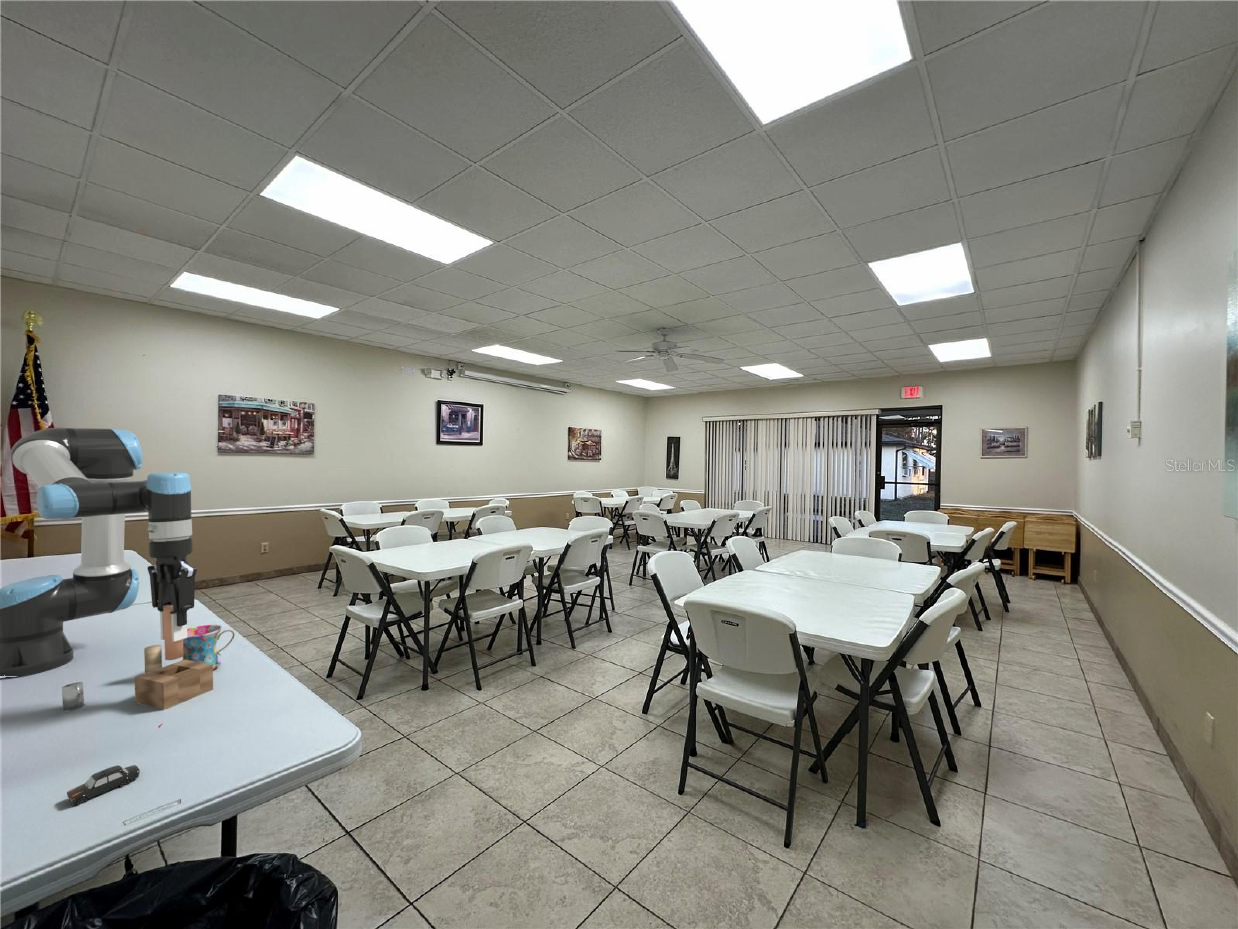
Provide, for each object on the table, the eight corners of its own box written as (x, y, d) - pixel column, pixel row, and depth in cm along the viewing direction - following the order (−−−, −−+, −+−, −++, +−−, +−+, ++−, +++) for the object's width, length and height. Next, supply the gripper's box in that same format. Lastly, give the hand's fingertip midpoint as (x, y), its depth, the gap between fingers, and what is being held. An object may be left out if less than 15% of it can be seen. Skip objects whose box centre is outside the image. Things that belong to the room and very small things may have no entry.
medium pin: (142, 680, 125) (141, 648, 125) (157, 675, 128) (156, 644, 128) (150, 682, 124) (149, 650, 124) (165, 676, 127) (164, 645, 127)
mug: (177, 682, 124) (176, 640, 124) (175, 670, 131) (174, 630, 130) (237, 667, 132) (236, 628, 132) (233, 657, 139) (232, 619, 139)
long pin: (161, 659, 115) (160, 608, 115) (177, 654, 118) (176, 604, 118) (170, 661, 114) (169, 609, 114) (186, 655, 117) (185, 605, 117)
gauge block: (135, 703, 114) (134, 677, 114) (185, 683, 123) (184, 659, 123) (164, 709, 110) (163, 683, 110) (213, 689, 120) (212, 664, 120)
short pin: (59, 709, 111) (58, 687, 111) (78, 702, 114) (77, 681, 114) (68, 712, 110) (67, 689, 110) (87, 704, 113) (86, 683, 113)
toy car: (65, 802, 82) (63, 754, 81) (160, 763, 92) (159, 720, 92) (71, 810, 80) (69, 762, 79) (168, 770, 90) (167, 726, 90)
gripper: (128, 540, 115) (132, 640, 115) (175, 542, 110) (178, 648, 110) (166, 534, 122) (170, 629, 122) (212, 537, 117) (215, 636, 117)
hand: (174, 638), depth 116 cm, fingers closed on long pin, 3 cm apart
